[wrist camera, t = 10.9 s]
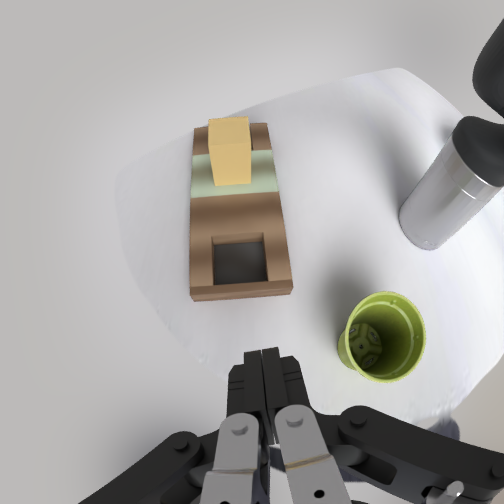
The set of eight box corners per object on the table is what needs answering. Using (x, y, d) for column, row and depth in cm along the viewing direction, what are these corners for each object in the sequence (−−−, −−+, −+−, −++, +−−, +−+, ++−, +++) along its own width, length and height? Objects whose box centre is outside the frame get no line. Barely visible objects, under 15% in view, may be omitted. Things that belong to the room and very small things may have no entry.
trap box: (290, 294, 36) (293, 287, 33) (194, 301, 36) (189, 295, 33) (266, 135, 48) (266, 122, 45) (196, 140, 47) (194, 128, 44)
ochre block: (251, 183, 39) (251, 142, 32) (214, 186, 39) (208, 145, 32) (248, 157, 41) (247, 116, 34) (214, 159, 41) (208, 119, 34)
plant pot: (309, 337, 34) (326, 325, 26) (365, 297, 36) (394, 274, 28) (349, 397, 31) (378, 402, 23) (403, 352, 33) (439, 342, 25)
